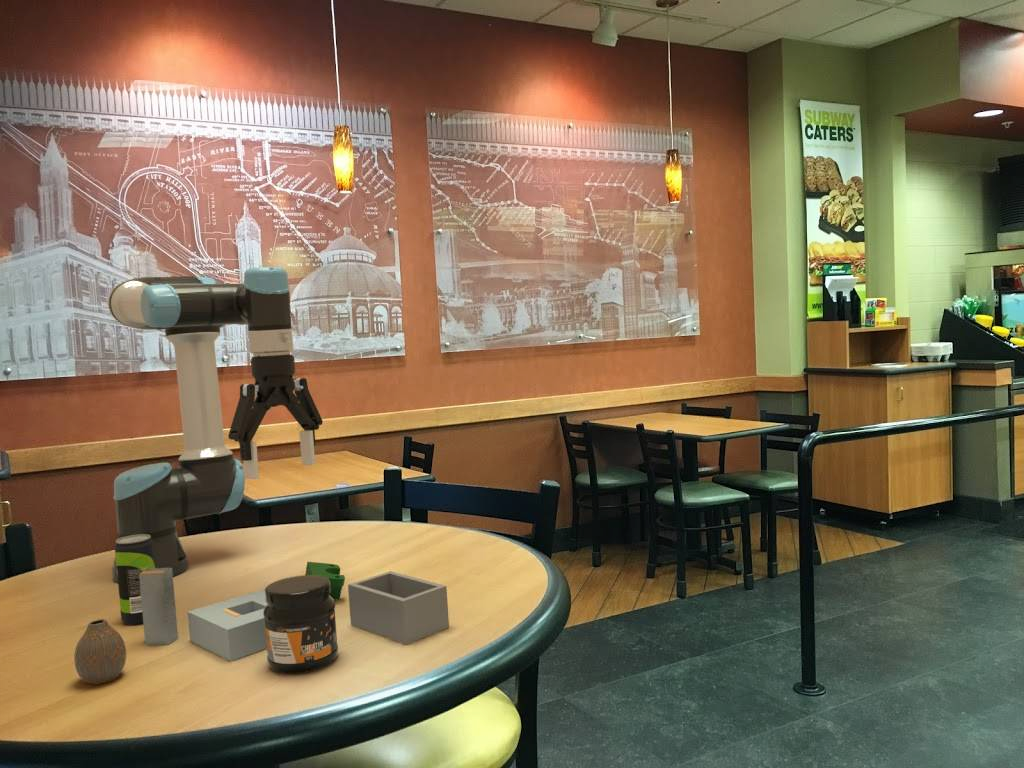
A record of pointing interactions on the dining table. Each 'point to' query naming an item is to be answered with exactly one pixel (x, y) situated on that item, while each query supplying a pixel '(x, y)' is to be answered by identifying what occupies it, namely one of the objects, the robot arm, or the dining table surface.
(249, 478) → the robot arm
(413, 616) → the gray hollow rectangular box
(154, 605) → the brushed metal block
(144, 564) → the beverage can
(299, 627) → the supplement container
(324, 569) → the green mounting bracket
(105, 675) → the vase
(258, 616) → the plate
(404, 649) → the dining table surface
